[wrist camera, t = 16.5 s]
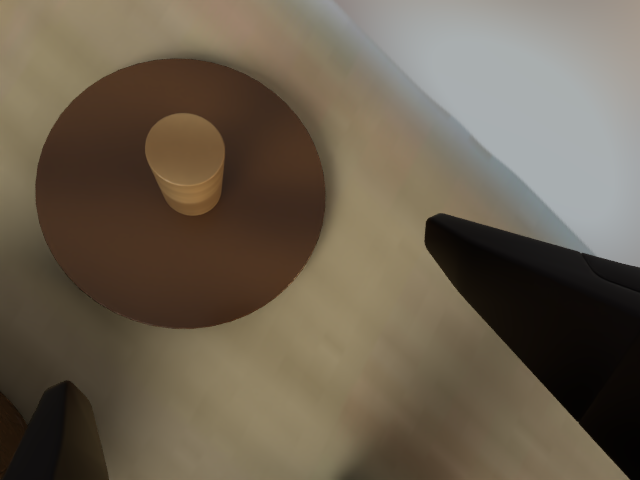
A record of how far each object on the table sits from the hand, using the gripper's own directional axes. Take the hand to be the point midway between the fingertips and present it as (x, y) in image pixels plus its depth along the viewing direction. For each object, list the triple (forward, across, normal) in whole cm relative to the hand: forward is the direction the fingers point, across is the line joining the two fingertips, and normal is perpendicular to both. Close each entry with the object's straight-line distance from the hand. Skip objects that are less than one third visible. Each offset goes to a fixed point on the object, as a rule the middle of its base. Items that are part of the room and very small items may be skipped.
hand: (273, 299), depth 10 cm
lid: (+14, 0, +5) cm, 14 cm away
